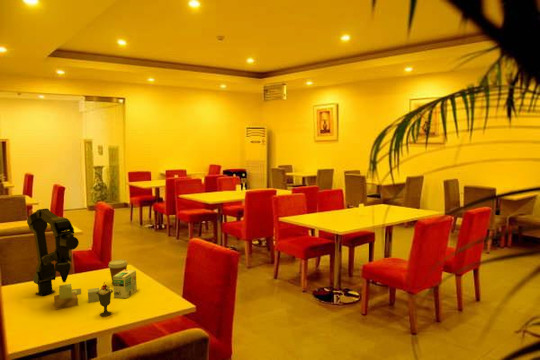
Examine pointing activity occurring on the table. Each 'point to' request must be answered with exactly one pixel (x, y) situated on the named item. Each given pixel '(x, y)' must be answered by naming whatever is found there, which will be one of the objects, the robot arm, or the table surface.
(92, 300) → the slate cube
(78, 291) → the swatch card
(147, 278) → the table surface
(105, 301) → the sundae
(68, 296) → the sage cube
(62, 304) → the walnut block
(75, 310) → the table surface
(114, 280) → the light bulb box
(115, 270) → the disposable coffee cup
